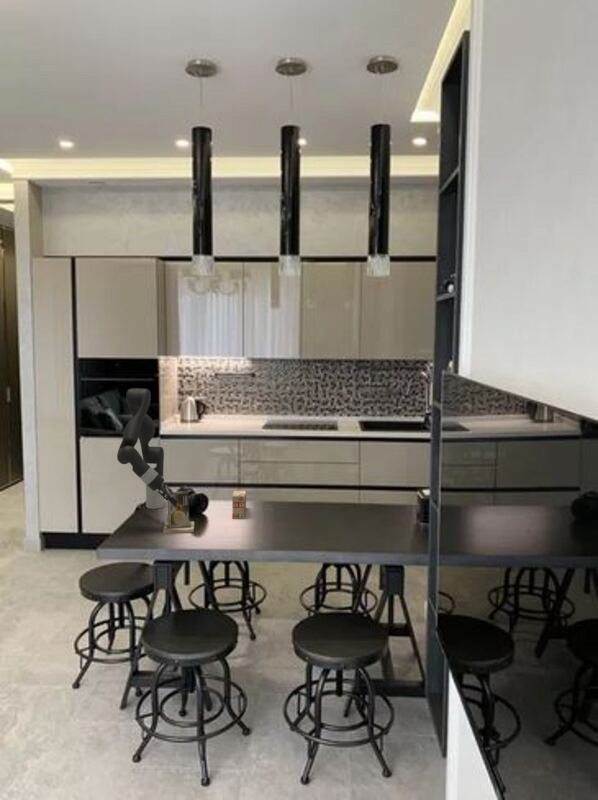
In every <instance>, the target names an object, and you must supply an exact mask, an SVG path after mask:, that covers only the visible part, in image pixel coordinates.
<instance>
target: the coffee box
mask: <svg viewBox="0 0 598 800" xmlns="http://www.w3.org/2000/svg"><path fill="white" fill-rule="evenodd" d="M170 495H171V496H172V497H173V498H174V499H175V500H176V501H177V504H176V505H175V506H174V505H173V504H172V503H171V502H170V501H167V522H168V525H169V526H170V528H175V527H184V526H189V521H190V499H189V498H190V497H189V496H190V494H189V492H188V491H186V490H181V491H173V492H170Z"/></svg>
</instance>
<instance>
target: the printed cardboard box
mask: <svg viewBox="0 0 598 800" xmlns="http://www.w3.org/2000/svg"><path fill="white" fill-rule="evenodd" d="M231 505H232V515H231V516H232V518H231V520H245V517H246V511H247V492H246V490H234V491H233V493H232V504H231Z"/></svg>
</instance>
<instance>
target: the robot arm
mask: <svg viewBox="0 0 598 800" xmlns="http://www.w3.org/2000/svg"><path fill="white" fill-rule="evenodd" d="M125 396H126V402H127V405H128V408H129V410H130V413H131V415H132V418H131V419H130V420H129V421H128V422H127V424H126V425H125V427H124V432H123V435H122V436H123V437H122V441H121V443H120V446H119V447H118V451H117V456H116V457H117V458H116V459H117V461H118V462H119V463H120V464H122V465H127V464H130V465H131V466H132V468H131V470H132V472H133V473H134V474H135V475H136V476H137V477H138V478H139V479H140V480H141V481H142V482H143V484H145V506H146V507H147V508H146V507H145V508H146V509H151V510H157V509H162V508H164V499H165V501H167V502H168V501H170V502H171V503H172V504H173V505H174V506H175V505H176V504H177V501H176V500H175V499H174V498H173V497H172V496H171V495H170V492H174V491H173V489H172V488H171V487H169V485H167V483H165V478H164V463H165V462H164V461H165V451H164V448H163V446H149V445H150V442H151V440H152V439H153V437H154V436H155V434H156V429H155V425H154V421H153V419H152V418H151V417H150V416H149V414H147V412H148V410H149V406H150V404H151V401H152V399H151V397H152V395H151V391H150V390H149V389H148V388H140V387H139V388H135V387H134V388H129V389H127V390H126V395H125ZM138 440H139V444H140V448H141V449H140V450H141V454H140V452H139V451H138V450H137V449H136V448H135V446H136V445H137V443H138ZM141 455H142V456H141ZM150 464H152V465H153V464H155V467H151V465H150Z"/></svg>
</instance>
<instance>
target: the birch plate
mask: <svg viewBox="0 0 598 800" xmlns="http://www.w3.org/2000/svg"><path fill="white" fill-rule="evenodd" d="M162 531H163V532H162V533H165V534H185V533H184V532H195V521H193V520H192V521H191V520H189V526H184V527H175V528H170V526H169V525H168V521H165V523H164V526H163V530H162Z"/></svg>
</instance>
